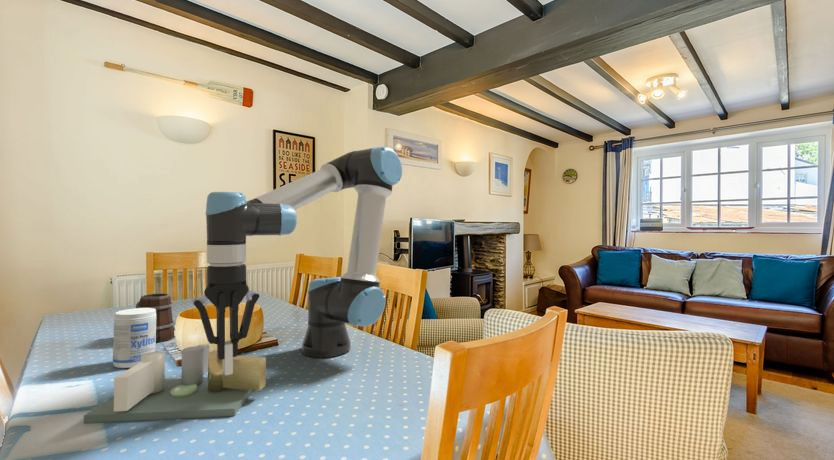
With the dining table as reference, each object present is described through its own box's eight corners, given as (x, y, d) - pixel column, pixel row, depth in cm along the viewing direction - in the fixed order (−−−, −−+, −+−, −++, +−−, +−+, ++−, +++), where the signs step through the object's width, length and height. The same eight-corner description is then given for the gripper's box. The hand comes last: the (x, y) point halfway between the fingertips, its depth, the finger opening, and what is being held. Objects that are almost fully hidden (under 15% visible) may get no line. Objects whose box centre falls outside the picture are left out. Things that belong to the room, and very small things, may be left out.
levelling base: (261, 378, 94) (262, 340, 94) (234, 415, 75) (235, 368, 75) (143, 382, 90) (143, 342, 90) (83, 423, 71) (84, 373, 71)
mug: (183, 336, 128) (183, 293, 128) (146, 346, 117) (147, 299, 117) (154, 331, 134) (154, 290, 134) (116, 340, 123) (117, 295, 123)
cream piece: (168, 385, 85) (169, 350, 85) (132, 413, 72) (133, 373, 72) (147, 386, 84) (148, 351, 84) (108, 414, 71) (108, 373, 71)
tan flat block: (216, 382, 86) (216, 349, 86) (267, 386, 85) (268, 352, 85) (203, 390, 82) (203, 355, 82) (257, 395, 80) (257, 359, 80)
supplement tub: (135, 370, 97) (136, 315, 97) (102, 368, 98) (103, 314, 98) (163, 357, 107) (164, 307, 107) (134, 356, 108) (135, 306, 108)
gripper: (254, 260, 85) (255, 360, 86) (189, 264, 77) (190, 374, 78) (263, 263, 79) (264, 370, 80) (193, 268, 71) (195, 387, 72)
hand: (227, 372), depth 79 cm, fingers closed
